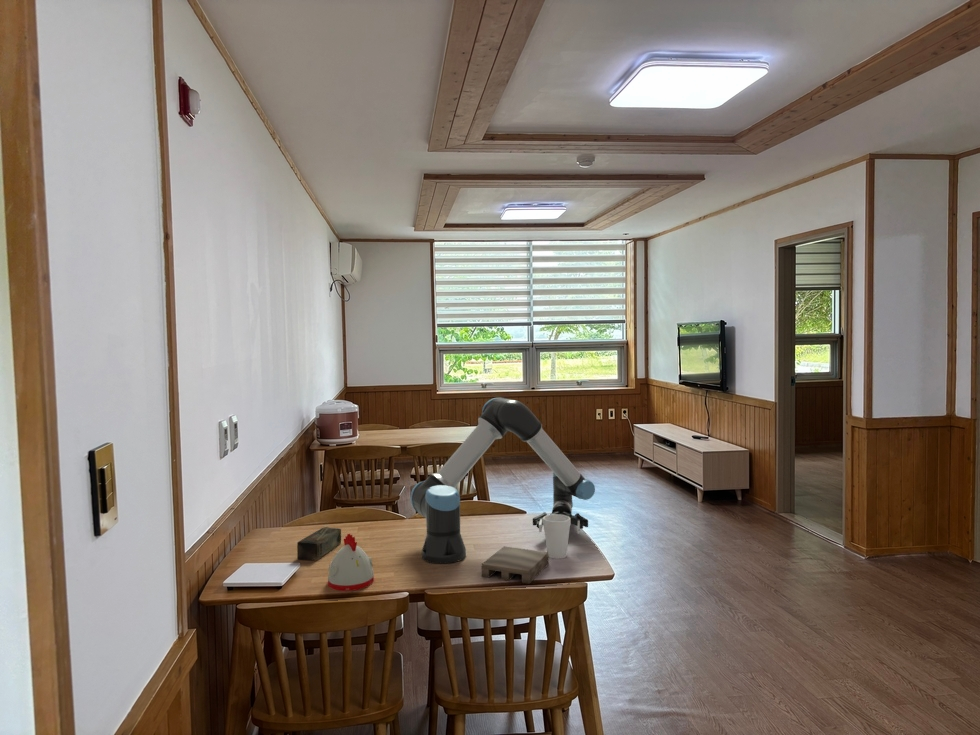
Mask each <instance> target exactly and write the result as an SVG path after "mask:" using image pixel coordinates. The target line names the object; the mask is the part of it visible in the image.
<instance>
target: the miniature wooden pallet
mask: <svg viewBox="0 0 980 735" xmlns="http://www.w3.org/2000/svg"><path fill="white" fill-rule="evenodd" d="M549 558H550V557H549V556H548V552H547V551H541V550H534V549H526V548H520V547H519V548H518V547H512V546H511V547H510V546H502V547H501V548H500V549H498V551H496V552H495V553H494V554H492V555H490V557H489V558H487V559H486V560H484V562H482V563H481V577H484V578H490V577H491V576H492V575H493V574H495V573H496V572H501V580H503V581H510V580H511V579H512V578H513V577H515V576H516V575H521V583H522V584H528V585H529V584H531V583H532V581H533V580H535V579H536V578H537V577H538V576H539V575H540V574H541V573H542V572H543V570H545V568H546V567H548V566H549Z"/></svg>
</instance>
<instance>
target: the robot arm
mask: <svg viewBox="0 0 980 735" xmlns="http://www.w3.org/2000/svg"><path fill="white" fill-rule="evenodd" d="M477 422H478V424H477V426H476V427H475V428H474V429H473V430H472V431H471V433H470V434H469V435H468V436H467V437H466V439H465V440H464V441H462V443H461V445H460V446H459V447H458V448H457V449H456V450H455V451H454V452H453V453H452V455H451V456H450V457H449V458H448V459H447V461H446V462H445V463H444V465H442V466H441V468H440V469H439V470H438V471H437V472H435V473H433V472H432V473H430V474H429V476H428V477H427V478H426V479H425V480H423V481H419V482H418V483H416V484H415V485H414V487H413V488H412V490H411V492H410V498H409V499H410V500H409V501H410V504H411V507H412V508H413V509H414V510H415V512H416V513H417V514H418V515H420V516H422V517H423V518H424V519H425V520H426V523H425V524H426V536H425V539H424V543H423V547H422V549H421V559H422V560H424V561H426V562H428V563H431V564H451V563H456V562H459V561H461V560H463V559H465V558H466V555H467V552H466V551H467V549H466V545H465V543H464V539H463V537H462V534H461V497H460V493H459V490H458V489H457V488H456V487H458V485H459V484H460V482H461V481H462V480H463V479H464V478H465V476H466V475H467V474H468V473H469V471H471V469H472V468H473V467H474V466H475V465H476V463H477V462H478V461H479V460H480V459H481V457H482V456H483V455H484V454H485V453H486V452H487V450H488V449H489V448H490V447H491V445H492V444H493V443H494V441H495V440H500V439H503V437H504V436H505V435H506V434H507V432H510V433H513V434H514V435H516V437H517V438H519V439H520V440H521V441H522V442H524V443H525V442H526V443H527V444H528V445H529V446H530V447H531V449H532V450H533V451H534V452H535V453H536V455H538V456H539V458H540V459H541V460H542V461H543V462H544V463H545V465H546V466H547V467H548V468H549V469H550V470H551V471H552V472H553V473H552V487H553V490H552V491H553V494H552V495H553V503H552V504H553V505H552V509H551V512H550V514H549V515H552V514H560V515H566V516H569V517H570V518H571V525H573V526H576V528H577V534H580V533H581V530H582V529H584V527H585V528H589V520H588V519H587V518H585V517H584V516H583V515H581V514H580V513H577V512H576V514H574V515H573V514H572V512H573V505H574V503H573V497H575V498H578V499H579V500H584V501H588V500H590V499H591V498H592V497H593V496H594V495H595V493H596V492H595V491H596V486H595V484H594V483H593V482H592V481H591V480H589V479H588V478H587V479H586V478H585V477H584V476H583V475H582V473H581V472H580V471H579V470H578V469H577V468H576V466H575V465H574V464H573V463H572V462H571V461H570V459H568V457H567V456H566V455H565V454H564V453H563V451H562V450H561V449H560V447H559V446H558V445H557V444H556V443H555V442H554V441H553V440H552V438H551V437H550V436H549V435H548V433H547V432H546V431H545V430H544V429H543V424H542V422H541V421H540V420H539V419H538V418H537V417H536V415H535V414H534V413H533V412H532V411H531V410H530V409H529V407H527V406H526V405H525V404H524V403H523V402H521V401H519V400H517V399H516V400H515V399H509V398H506V397H494V398H491V399H489V400H488V401H486V402H485V404H484V405H483V407H482V410H481V415H480V416H479V417H478V419H477ZM547 515H548V514H547V512H545V511H544V512H542V513H541V514H539V515H537V516H535V517H533V518H532V526H536V528H537V529H538V532H539V533H542V530H543V517H544V516H547Z"/></svg>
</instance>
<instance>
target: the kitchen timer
mask: <svg viewBox="0 0 980 735" xmlns="http://www.w3.org/2000/svg"><path fill="white" fill-rule="evenodd" d="M357 543H358V541H356V537H355V536H353V534H351V533H347V535H346V536H345V538H343V544H344V545H343V546H341V548H340V549H339V550H338V551H337V552H336V553H335V555H334V557H333V559H332V561H331V562H329V565H328V566H329V567H328V577H327V585H328V587H329V588H330V589H332V590H335V591H340V592H341V591H345V592H347V591H349V592H351V591H356V590H361V589H365V588H367V587H369V586H370V585H372V584H373V582H375V578H374V575H375V574H374V570H373V561H372V557H371V556H368V555H367V553H366V552H365V551H364V550H363V548H362V547H360V546H358V544H357Z"/></svg>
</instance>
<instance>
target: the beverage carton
mask: <svg viewBox="0 0 980 735" xmlns="http://www.w3.org/2000/svg"><path fill="white" fill-rule="evenodd" d="M341 543H342V529H341V528H335V527H329V526H324V527H321V528H320V529H318V530H316V531H315V532H312V533H311V534H309V535H307V536H305V537H304V538H303V539H300V540H299V541H297V549H296V550H297V552H296V554H297V555H296V556H297V559H298V560H305V561H306V560H307V561H316V562H317V561H318V560H319V559H321V558H322V557H324V556H325V555H327V554H328V553H330V552H331V551H333V550H334V549H335V548H337V547H338V546H339V545H340V544H341Z"/></svg>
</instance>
